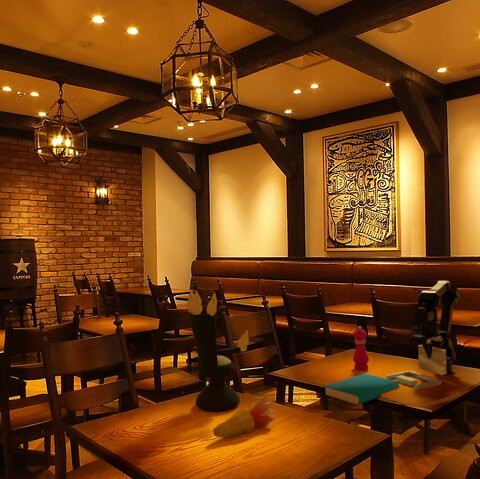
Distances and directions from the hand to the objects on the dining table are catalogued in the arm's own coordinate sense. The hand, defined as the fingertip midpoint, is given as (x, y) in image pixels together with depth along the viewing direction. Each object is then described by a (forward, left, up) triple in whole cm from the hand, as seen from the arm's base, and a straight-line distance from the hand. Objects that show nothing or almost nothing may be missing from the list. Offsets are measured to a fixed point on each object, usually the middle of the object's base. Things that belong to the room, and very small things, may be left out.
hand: (432, 357), depth 204 cm
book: (+35, -3, -11) cm, 36 cm away
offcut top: (+15, 0, -8) cm, 17 cm away
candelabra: (+92, -18, -10) cm, 94 cm away
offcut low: (+15, 0, -10) cm, 18 cm away
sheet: (0, 0, -6) cm, 6 cm away
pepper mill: (+13, -31, -10) cm, 35 cm away
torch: (+92, +7, -10) cm, 93 cm away
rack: (+11, 0, -10) cm, 14 cm away
